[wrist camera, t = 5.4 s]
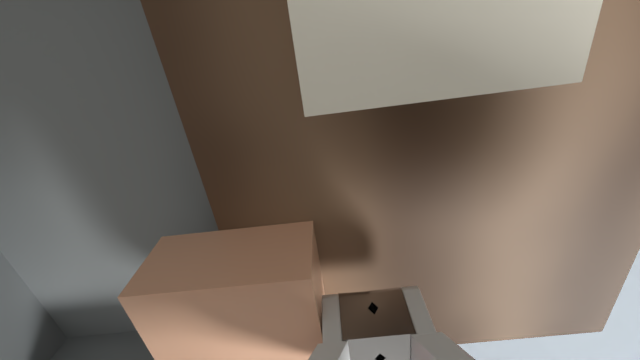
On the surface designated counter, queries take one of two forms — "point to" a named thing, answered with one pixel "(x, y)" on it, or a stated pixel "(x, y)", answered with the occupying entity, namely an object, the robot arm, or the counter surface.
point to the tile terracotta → (230, 295)
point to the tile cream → (434, 49)
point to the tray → (85, 175)
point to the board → (423, 172)
